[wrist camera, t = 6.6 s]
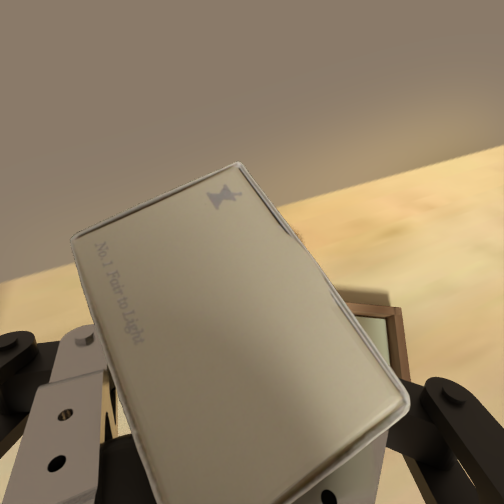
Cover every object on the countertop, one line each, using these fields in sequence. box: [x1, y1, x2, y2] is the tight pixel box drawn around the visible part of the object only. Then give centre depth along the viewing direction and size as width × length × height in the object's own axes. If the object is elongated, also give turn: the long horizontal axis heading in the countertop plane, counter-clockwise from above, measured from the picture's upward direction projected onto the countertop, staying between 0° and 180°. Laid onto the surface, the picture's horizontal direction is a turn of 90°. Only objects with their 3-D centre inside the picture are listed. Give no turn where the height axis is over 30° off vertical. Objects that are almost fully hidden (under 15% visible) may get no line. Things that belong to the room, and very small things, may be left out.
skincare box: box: [70, 161, 410, 504], centre depth 10 cm, size 6×4×12 cm
